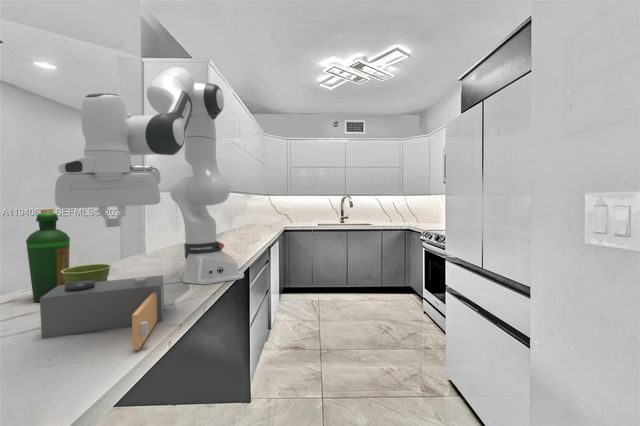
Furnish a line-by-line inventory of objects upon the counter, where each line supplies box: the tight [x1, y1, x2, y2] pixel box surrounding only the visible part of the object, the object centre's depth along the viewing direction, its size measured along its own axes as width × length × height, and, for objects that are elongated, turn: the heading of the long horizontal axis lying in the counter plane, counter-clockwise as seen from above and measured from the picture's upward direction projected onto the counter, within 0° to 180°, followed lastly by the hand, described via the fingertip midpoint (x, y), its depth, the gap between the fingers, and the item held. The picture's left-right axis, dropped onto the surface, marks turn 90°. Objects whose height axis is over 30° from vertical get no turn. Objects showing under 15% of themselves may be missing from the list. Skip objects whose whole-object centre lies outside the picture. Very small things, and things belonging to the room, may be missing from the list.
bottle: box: [25, 208, 71, 303], centre depth 103 cm, size 11×11×28 cm
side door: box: [131, 292, 158, 351], centre depth 73 cm, size 17×2×7 cm, turn 15°
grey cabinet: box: [39, 275, 165, 339], centre depth 83 cm, size 24×12×10 cm, turn 113°
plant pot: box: [61, 263, 112, 284], centre depth 94 cm, size 12×12×11 cm
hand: (113, 226), depth 76 cm, fingers closed
